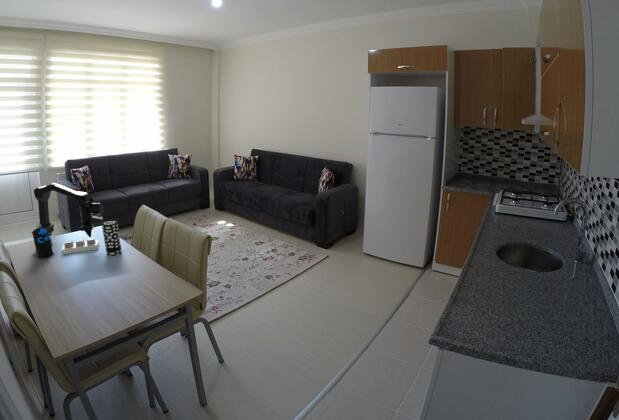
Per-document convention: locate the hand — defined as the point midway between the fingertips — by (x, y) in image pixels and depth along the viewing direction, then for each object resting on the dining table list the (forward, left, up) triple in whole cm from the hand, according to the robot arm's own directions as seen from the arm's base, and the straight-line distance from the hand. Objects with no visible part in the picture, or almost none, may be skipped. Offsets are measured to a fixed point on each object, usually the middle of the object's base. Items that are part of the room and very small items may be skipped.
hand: (90, 236), depth 228 cm
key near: (-12, 0, -5) cm, 13 cm away
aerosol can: (-24, -3, -8) cm, 26 cm away
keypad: (-6, 0, -7) cm, 9 cm away
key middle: (-6, 0, -5) cm, 7 cm away
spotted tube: (+13, -16, -8) cm, 22 cm away
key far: (0, 0, -5) cm, 5 cm away
